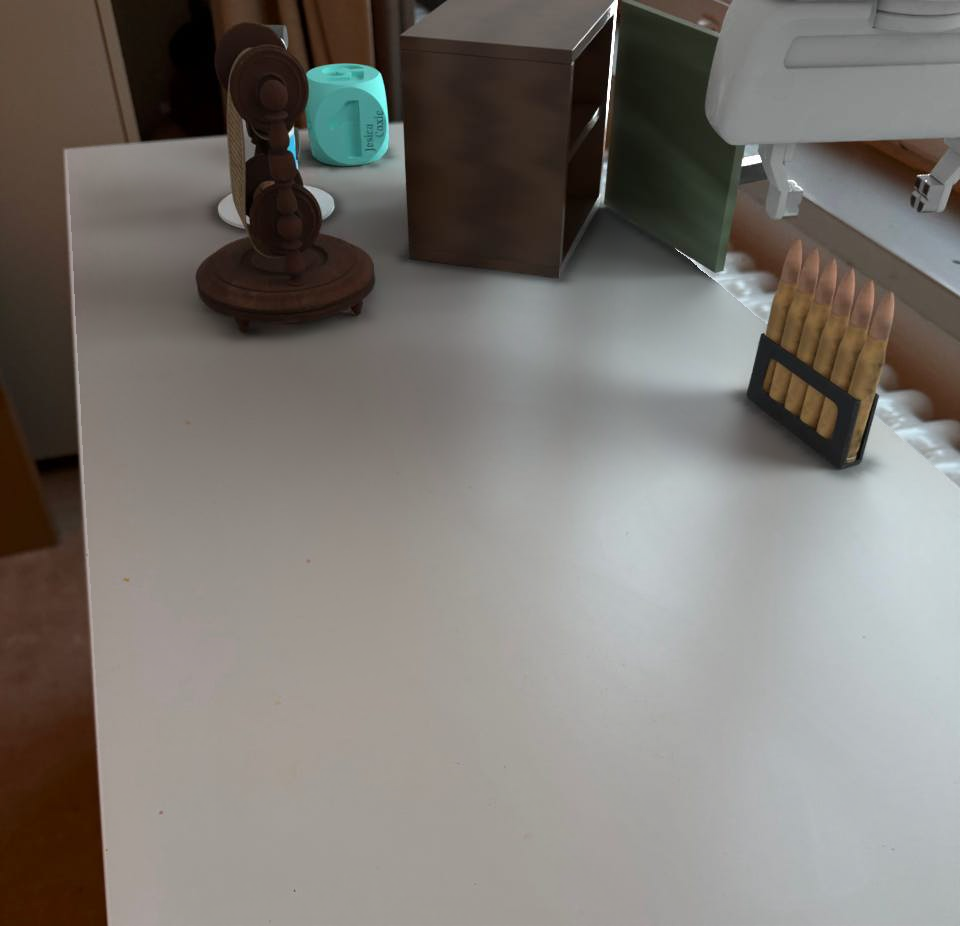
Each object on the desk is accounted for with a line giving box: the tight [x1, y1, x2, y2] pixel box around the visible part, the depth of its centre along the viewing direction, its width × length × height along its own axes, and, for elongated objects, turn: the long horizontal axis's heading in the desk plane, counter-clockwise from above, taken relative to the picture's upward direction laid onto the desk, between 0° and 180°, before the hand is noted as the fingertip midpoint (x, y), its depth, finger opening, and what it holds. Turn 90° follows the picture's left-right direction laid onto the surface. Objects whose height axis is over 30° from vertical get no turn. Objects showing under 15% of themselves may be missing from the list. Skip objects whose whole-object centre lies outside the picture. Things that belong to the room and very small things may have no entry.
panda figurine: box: [217, 24, 335, 230], centre depth 97 cm, size 12×11×15 cm
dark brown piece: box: [195, 21, 376, 334], centre depth 81 cm, size 15×15×20 cm
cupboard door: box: [603, 0, 786, 274], centre depth 93 cm, size 8×18×18 cm, turn 28°
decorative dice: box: [304, 63, 390, 167], centre depth 111 cm, size 8×8×8 cm
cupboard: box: [399, 0, 618, 279], centre depth 92 cm, size 14×18×18 cm
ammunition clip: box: [746, 237, 895, 470], centre depth 69 cm, size 11×2×12 cm, turn 26°
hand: (853, 212), depth 63 cm, fingers open, 8 cm apart
